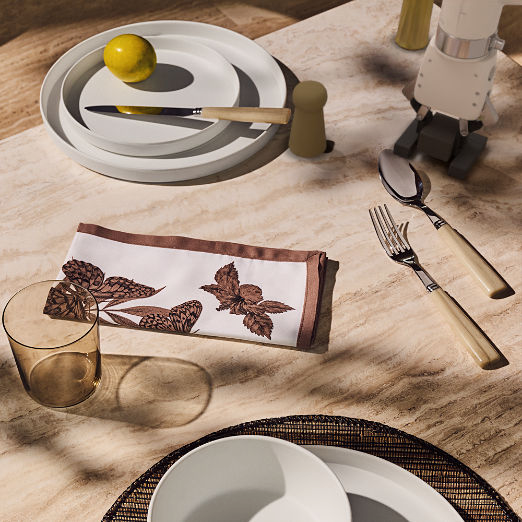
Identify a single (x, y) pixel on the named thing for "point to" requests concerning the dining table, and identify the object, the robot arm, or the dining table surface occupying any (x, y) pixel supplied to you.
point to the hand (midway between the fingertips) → (439, 142)
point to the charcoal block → (438, 136)
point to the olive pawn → (308, 119)
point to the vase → (414, 24)
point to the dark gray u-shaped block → (459, 163)
